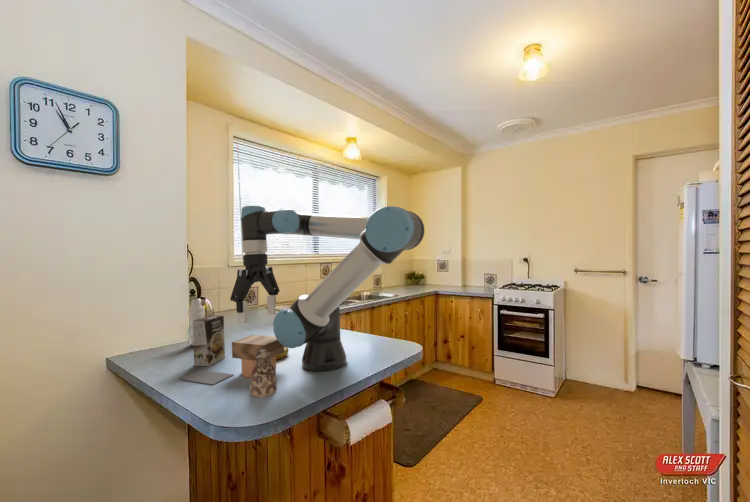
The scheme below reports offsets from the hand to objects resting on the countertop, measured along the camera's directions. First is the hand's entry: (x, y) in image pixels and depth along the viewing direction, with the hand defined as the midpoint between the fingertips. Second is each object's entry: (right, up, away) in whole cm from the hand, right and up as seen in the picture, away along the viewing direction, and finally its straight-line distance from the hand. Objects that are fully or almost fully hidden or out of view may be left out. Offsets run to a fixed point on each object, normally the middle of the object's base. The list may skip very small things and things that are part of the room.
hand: (257, 318), depth 109 cm
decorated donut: (0, -18, +15) cm, 24 cm away
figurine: (+7, -18, -15) cm, 24 cm away
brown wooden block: (0, -12, 0) cm, 12 cm away
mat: (-15, -18, -3) cm, 24 cm away
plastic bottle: (-39, -19, +35) cm, 55 cm away
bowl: (0, -18, 0) cm, 18 cm away
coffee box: (-22, -19, +12) cm, 31 cm away
